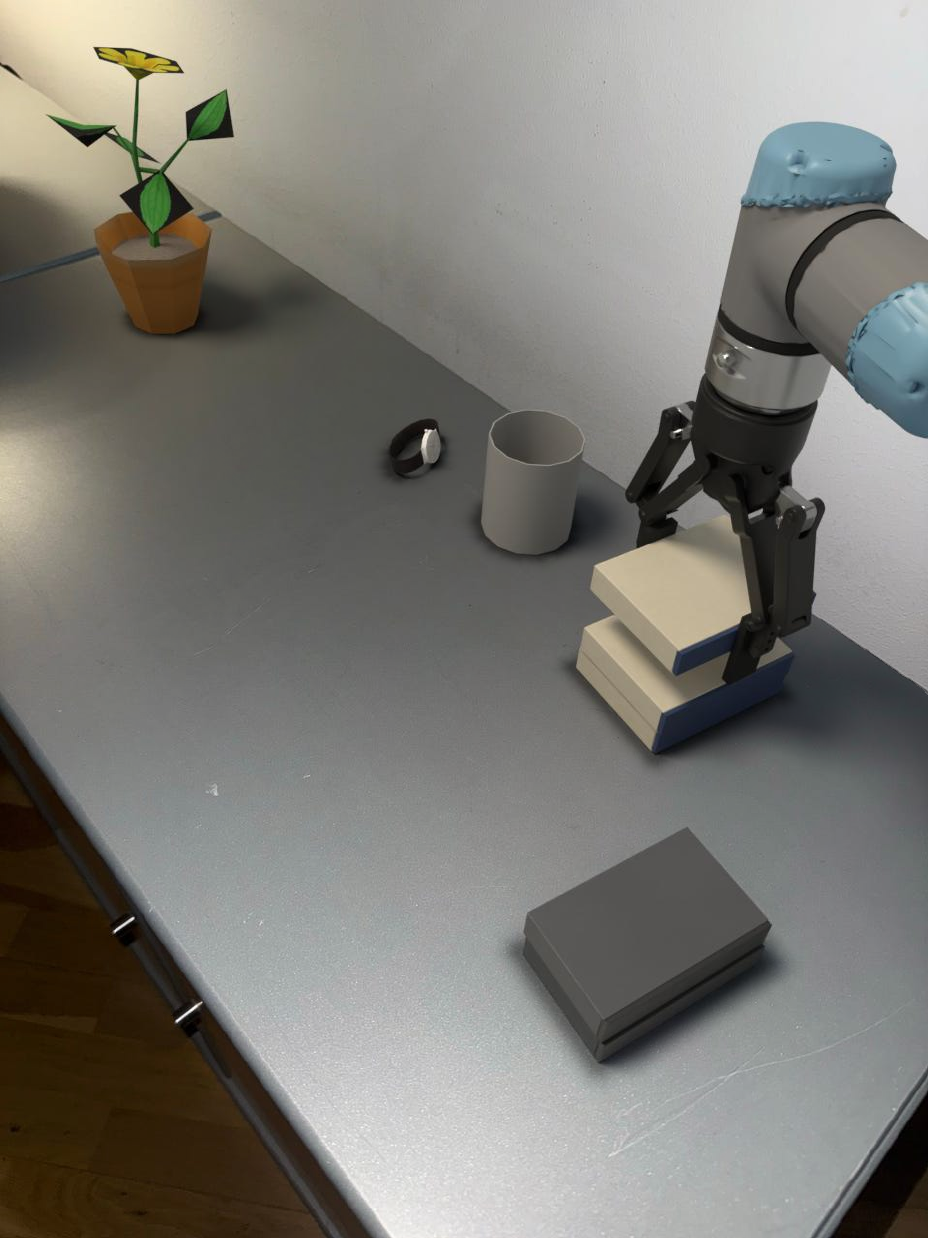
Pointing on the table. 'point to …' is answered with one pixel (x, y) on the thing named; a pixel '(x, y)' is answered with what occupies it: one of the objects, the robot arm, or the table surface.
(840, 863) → the table surface
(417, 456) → the watch
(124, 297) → the potted plant
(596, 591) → the cream book
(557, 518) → the cup
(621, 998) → the grey stack
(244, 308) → the table surface
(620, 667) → the cream stack
